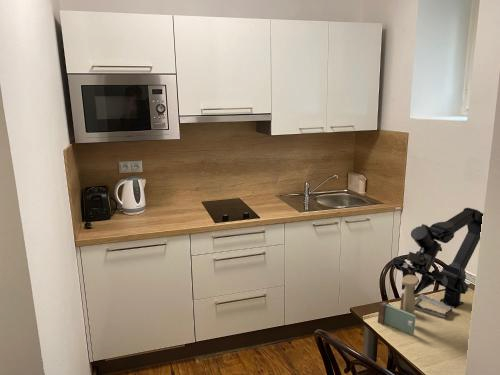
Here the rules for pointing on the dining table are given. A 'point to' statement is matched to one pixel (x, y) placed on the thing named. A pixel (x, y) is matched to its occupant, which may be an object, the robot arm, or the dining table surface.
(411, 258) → the robot arm
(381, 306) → the door frame
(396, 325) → the door
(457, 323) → the dining table surface
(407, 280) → the handle
